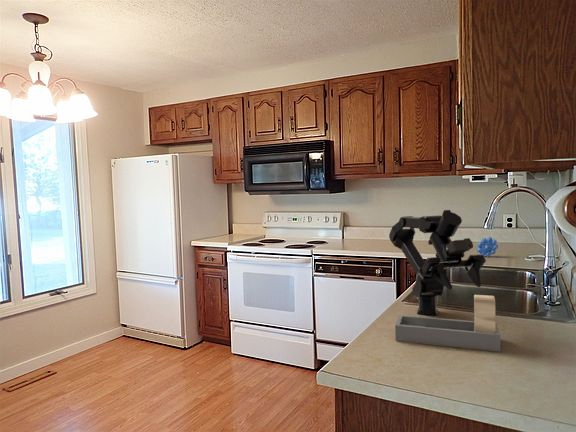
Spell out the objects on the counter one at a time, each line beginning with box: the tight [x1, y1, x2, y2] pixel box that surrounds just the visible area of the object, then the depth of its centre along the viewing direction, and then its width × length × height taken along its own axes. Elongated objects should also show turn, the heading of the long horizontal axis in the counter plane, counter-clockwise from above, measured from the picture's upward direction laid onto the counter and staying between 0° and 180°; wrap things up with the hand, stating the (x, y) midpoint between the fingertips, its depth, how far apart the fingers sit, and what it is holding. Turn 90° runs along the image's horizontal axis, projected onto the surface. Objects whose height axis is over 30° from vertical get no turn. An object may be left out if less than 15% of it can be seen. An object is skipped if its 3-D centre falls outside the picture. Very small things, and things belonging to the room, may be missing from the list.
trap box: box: [394, 314, 501, 353], centre depth 119 cm, size 10×27×4 cm, turn 68°
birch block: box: [473, 294, 496, 333], centre depth 115 cm, size 5×5×11 cm
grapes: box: [476, 236, 499, 257], centre depth 247 cm, size 12×7×12 cm, turn 57°
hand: (465, 287), depth 122 cm, fingers open, 9 cm apart
